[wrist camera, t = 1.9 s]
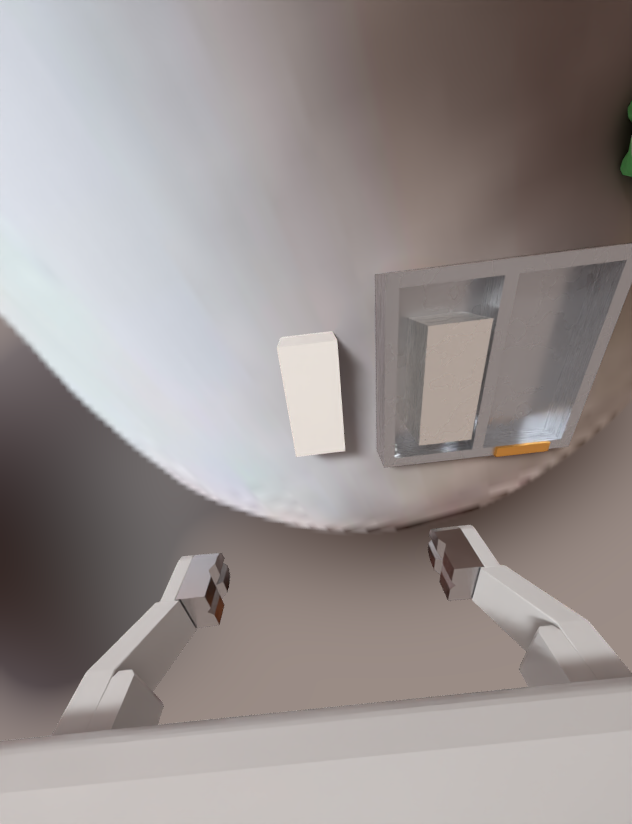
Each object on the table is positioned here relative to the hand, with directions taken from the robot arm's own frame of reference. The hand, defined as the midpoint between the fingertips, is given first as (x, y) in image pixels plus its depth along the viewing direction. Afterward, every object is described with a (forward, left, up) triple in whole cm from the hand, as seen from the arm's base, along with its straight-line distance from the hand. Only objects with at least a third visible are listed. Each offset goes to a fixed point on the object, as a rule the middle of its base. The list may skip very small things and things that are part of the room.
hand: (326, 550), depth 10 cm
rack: (-1, +15, -17) cm, 23 cm away
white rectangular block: (0, 0, -17) cm, 17 cm away
